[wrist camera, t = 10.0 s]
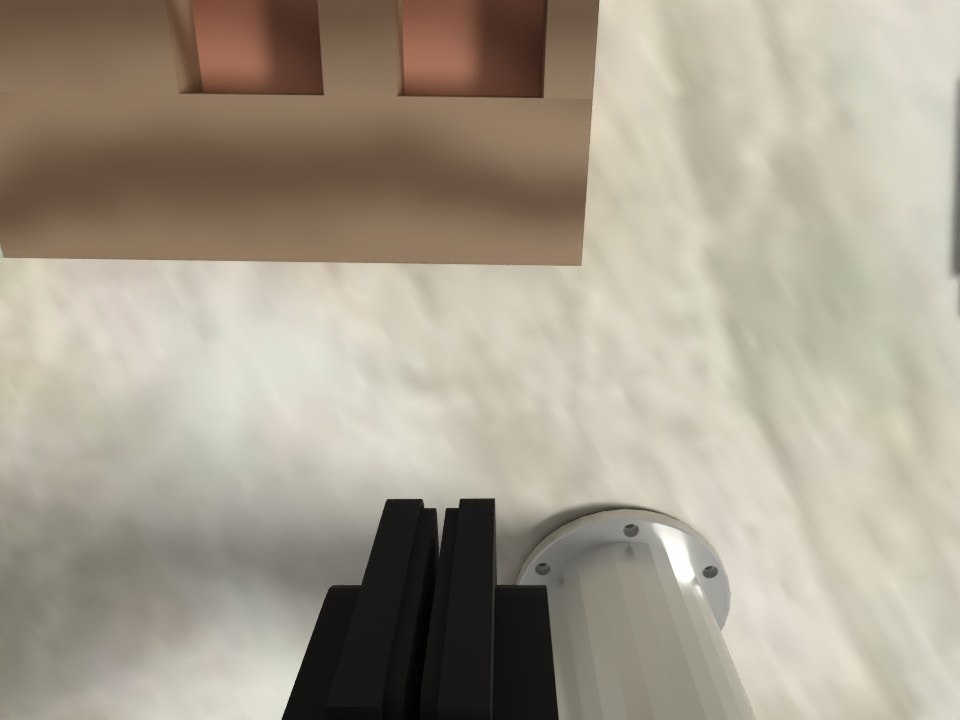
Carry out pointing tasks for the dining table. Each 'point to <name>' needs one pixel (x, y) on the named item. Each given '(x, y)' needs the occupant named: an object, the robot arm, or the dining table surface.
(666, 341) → the dining table surface
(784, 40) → the dining table surface
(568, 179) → the board
